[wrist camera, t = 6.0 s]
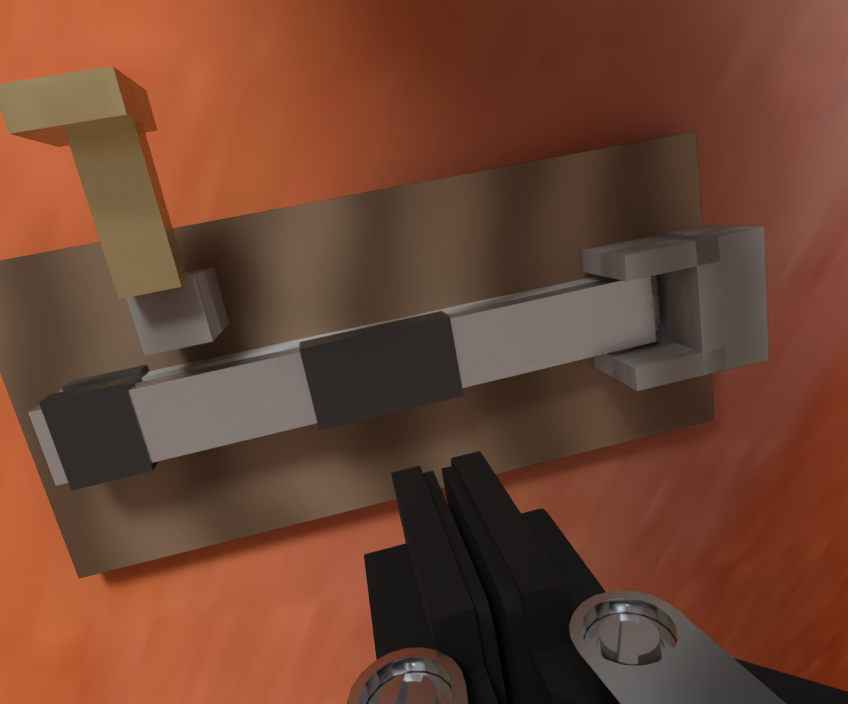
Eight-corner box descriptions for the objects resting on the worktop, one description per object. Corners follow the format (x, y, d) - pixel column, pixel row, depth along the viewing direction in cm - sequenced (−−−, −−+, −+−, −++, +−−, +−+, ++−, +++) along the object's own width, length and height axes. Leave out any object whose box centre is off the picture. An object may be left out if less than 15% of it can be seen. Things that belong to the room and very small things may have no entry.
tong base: (676, 135, 28) (760, 115, 22) (696, 410, 31) (772, 449, 26) (-18, 264, 24) (-115, 278, 19) (91, 559, 28) (36, 640, 22)
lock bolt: (53, 108, 18) (-8, 85, 15) (151, 93, 19) (112, 66, 15) (113, 298, 20) (70, 314, 17) (202, 280, 20) (178, 293, 17)
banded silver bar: (647, 263, 26) (665, 265, 25) (654, 341, 27) (672, 347, 26) (37, 396, 22) (20, 408, 21) (68, 481, 23) (54, 497, 22)
